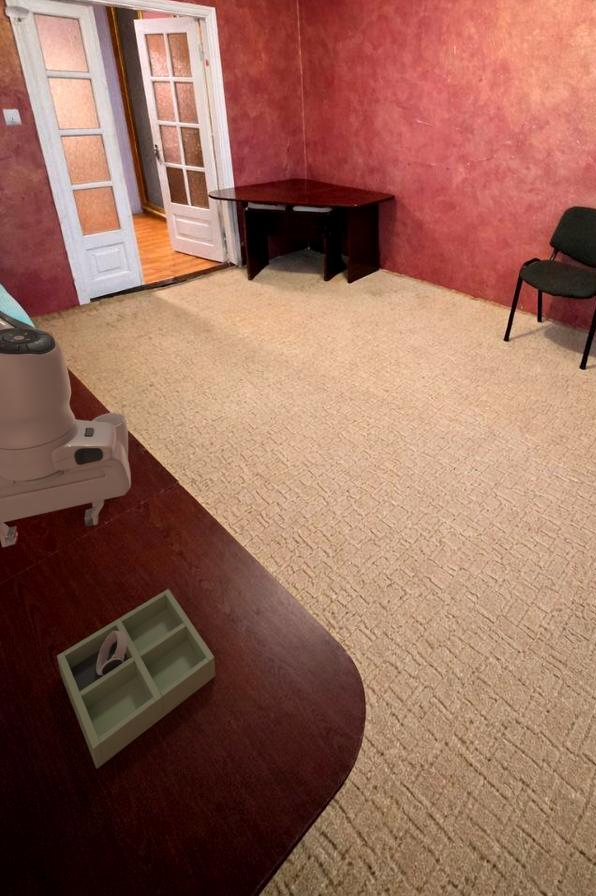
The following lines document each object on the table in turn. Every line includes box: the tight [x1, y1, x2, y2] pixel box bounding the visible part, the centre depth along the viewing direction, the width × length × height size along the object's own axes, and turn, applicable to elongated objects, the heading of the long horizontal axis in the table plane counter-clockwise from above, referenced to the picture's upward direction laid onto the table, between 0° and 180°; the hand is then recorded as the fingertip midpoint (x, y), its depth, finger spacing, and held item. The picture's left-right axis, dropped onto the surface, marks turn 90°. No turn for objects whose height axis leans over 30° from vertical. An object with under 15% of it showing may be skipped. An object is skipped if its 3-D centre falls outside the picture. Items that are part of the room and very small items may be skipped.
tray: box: [56, 588, 217, 769], centre depth 69 cm, size 15×15×4 cm
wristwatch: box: [96, 631, 127, 675], centre depth 69 cm, size 3×5×5 cm
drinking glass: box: [91, 412, 129, 459], centre depth 105 cm, size 7×7×15 cm
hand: (52, 532), depth 67 cm, fingers open, 8 cm apart
